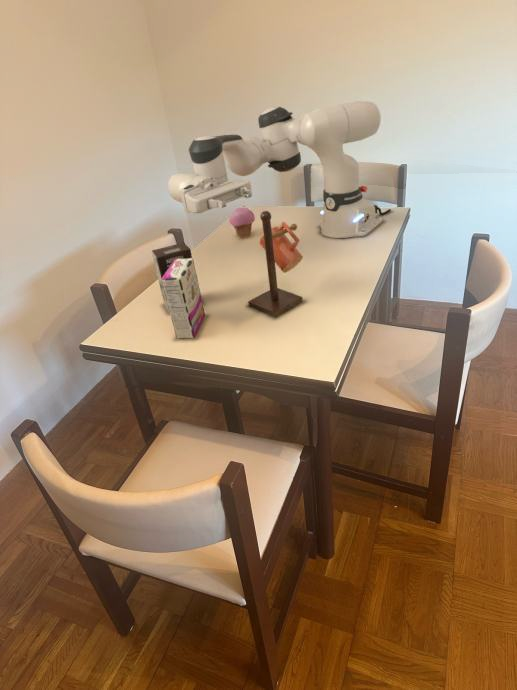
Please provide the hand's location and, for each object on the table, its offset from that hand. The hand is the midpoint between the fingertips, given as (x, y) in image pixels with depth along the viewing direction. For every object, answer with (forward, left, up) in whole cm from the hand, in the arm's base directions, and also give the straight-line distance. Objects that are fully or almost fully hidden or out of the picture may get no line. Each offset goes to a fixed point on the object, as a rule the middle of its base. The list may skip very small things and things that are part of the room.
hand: (237, 199), depth 131 cm
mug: (+2, +22, -12) cm, 25 cm away
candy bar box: (+29, +11, -23) cm, 38 cm away
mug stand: (+5, +20, -23) cm, 30 cm away
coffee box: (+23, -1, -23) cm, 32 cm away
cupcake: (-21, -25, -23) cm, 40 cm away
